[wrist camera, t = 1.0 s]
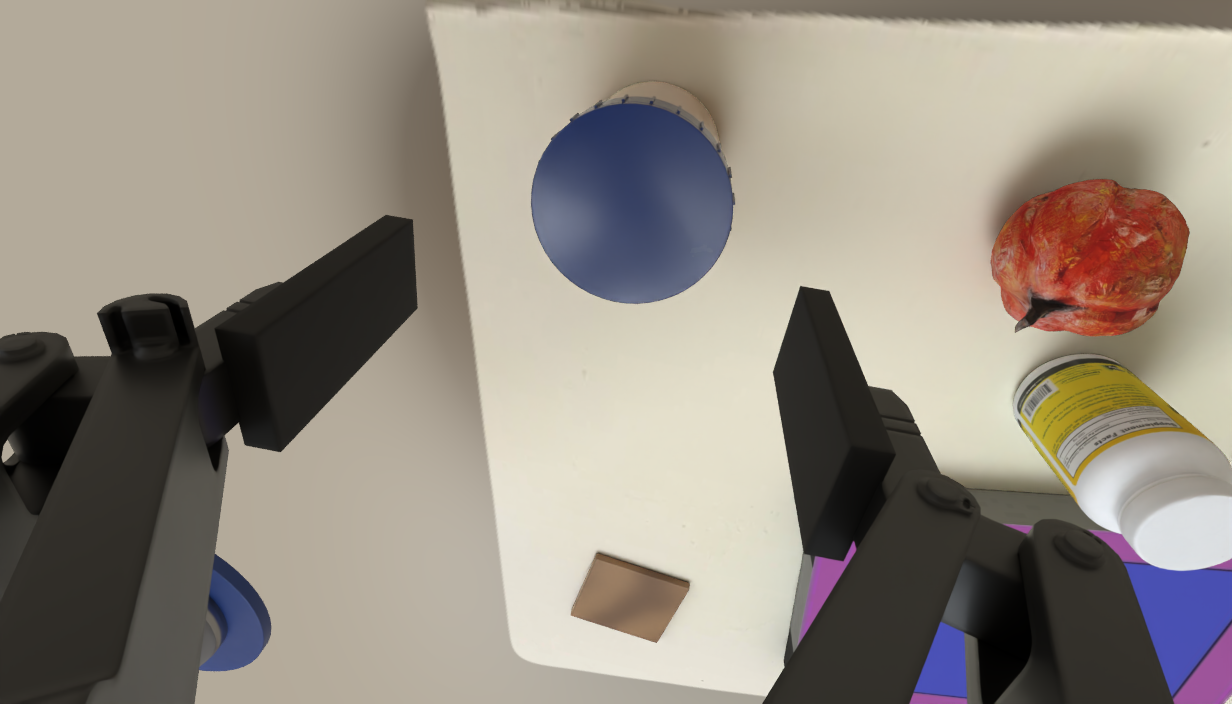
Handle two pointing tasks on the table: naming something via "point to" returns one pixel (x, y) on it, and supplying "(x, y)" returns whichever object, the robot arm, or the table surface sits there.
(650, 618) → the cork mat
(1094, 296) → the pomegranate
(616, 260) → the lid
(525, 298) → the table surface
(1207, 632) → the book
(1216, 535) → the pill bottle
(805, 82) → the table surface
